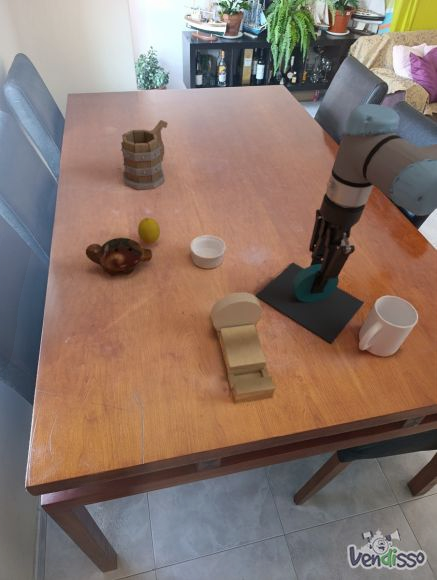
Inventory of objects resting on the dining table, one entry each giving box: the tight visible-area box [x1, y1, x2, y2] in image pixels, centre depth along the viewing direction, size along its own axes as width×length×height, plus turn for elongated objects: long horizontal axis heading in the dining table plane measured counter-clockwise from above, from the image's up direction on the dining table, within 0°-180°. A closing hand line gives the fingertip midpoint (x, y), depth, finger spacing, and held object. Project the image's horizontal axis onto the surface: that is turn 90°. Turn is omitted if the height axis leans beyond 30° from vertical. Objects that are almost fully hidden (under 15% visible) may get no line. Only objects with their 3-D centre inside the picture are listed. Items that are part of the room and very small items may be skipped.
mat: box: [255, 262, 365, 345], centre depth 88 cm, size 20×16×1 cm
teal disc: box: [292, 264, 340, 302], centre depth 84 cm, size 2×10×10 cm, turn 101°
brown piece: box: [85, 237, 153, 277], centre depth 89 cm, size 10×15×8 cm, turn 111°
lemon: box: [137, 217, 161, 245], centre depth 96 cm, size 6×6×8 cm
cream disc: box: [210, 292, 263, 331], centre depth 74 cm, size 2×10×10 cm, turn 101°
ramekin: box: [189, 234, 227, 269], centre depth 94 cm, size 9×9×4 cm
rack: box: [215, 324, 276, 405], centre depth 74 cm, size 20×7×5 cm, turn 11°
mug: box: [358, 295, 419, 357], centre depth 76 cm, size 12×8×10 cm
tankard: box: [120, 119, 168, 191], centre depth 117 cm, size 20×13×15 cm, turn 148°
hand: (313, 287), depth 85 cm, fingers closed on teal disc, 2 cm apart
